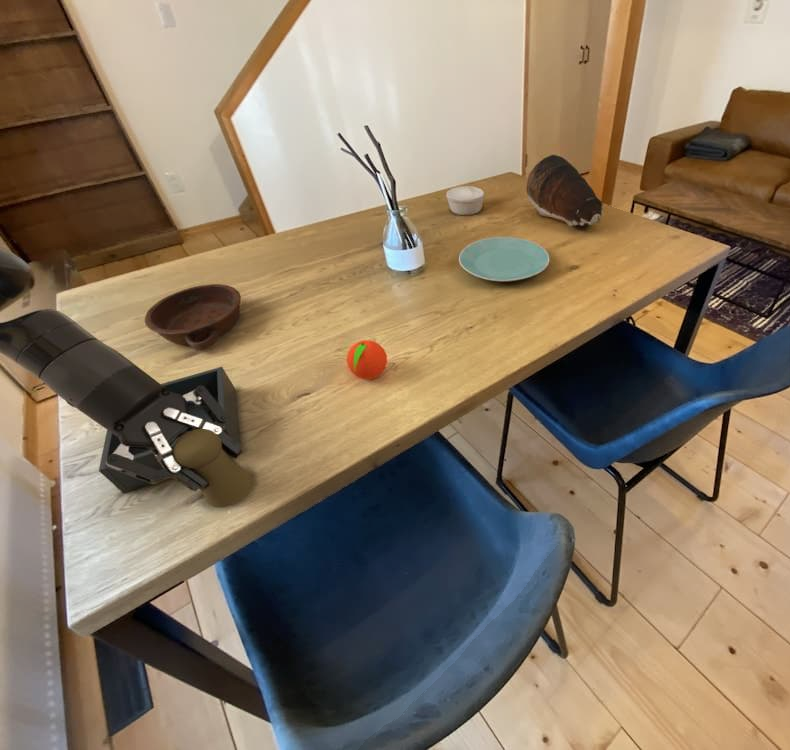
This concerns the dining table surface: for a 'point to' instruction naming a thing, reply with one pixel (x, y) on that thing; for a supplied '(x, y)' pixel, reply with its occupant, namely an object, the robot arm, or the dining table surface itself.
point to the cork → (212, 466)
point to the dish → (195, 315)
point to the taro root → (562, 192)
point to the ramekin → (465, 200)
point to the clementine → (366, 359)
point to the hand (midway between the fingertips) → (223, 470)
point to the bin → (224, 396)
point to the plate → (504, 259)
